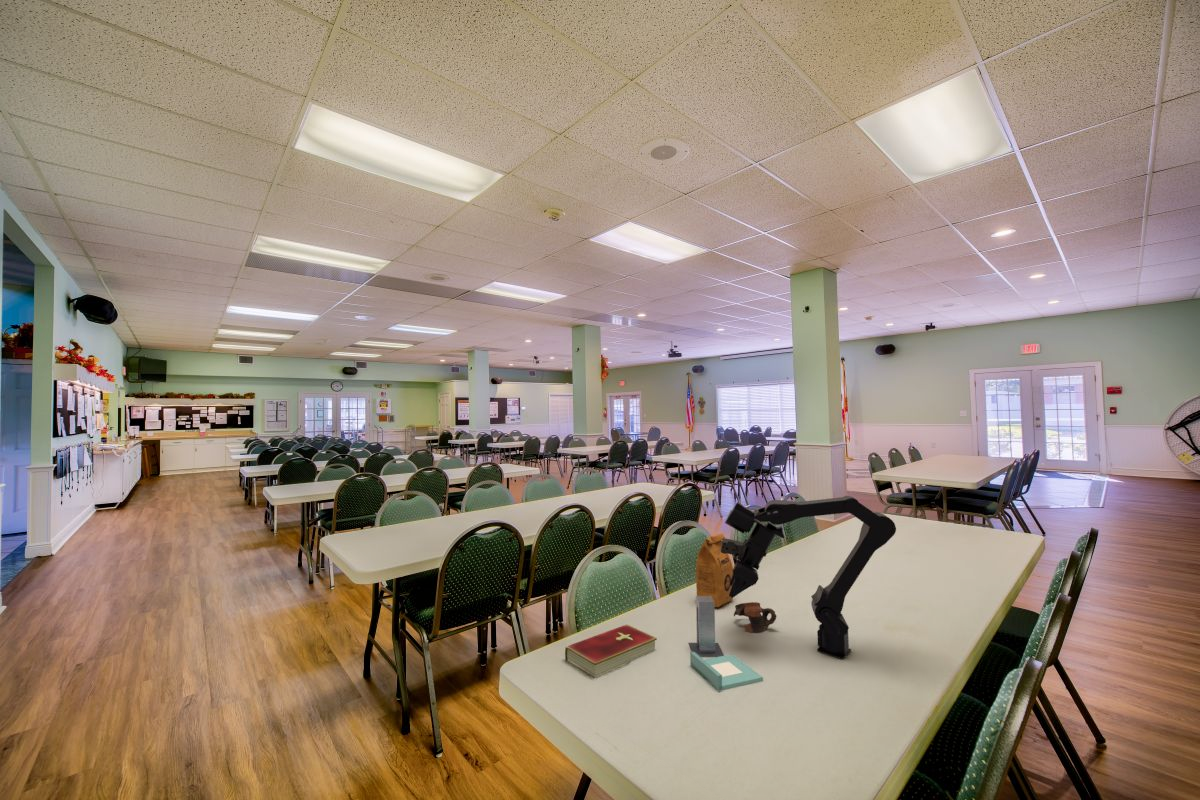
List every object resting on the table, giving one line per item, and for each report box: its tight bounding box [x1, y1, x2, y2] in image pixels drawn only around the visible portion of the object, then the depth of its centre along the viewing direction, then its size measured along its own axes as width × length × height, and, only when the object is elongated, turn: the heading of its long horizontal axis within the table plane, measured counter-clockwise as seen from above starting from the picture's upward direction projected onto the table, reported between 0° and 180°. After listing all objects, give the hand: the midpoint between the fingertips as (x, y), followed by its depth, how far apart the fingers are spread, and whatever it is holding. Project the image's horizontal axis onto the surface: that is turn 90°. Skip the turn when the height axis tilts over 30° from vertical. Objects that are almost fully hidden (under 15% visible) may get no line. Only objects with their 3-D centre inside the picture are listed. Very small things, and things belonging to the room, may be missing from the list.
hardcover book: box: [564, 624, 658, 679], centre depth 126 cm, size 12×21×4 cm, turn 130°
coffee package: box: [695, 533, 734, 608], centre depth 163 cm, size 10×12×22 cm
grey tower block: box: [695, 595, 716, 654], centre depth 128 cm, size 4×4×13 cm
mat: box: [687, 642, 725, 658], centre depth 128 cm, size 8×8×1 cm
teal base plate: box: [689, 652, 764, 693], centre depth 116 cm, size 12×12×4 cm
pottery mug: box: [733, 601, 777, 634], centre depth 143 cm, size 12×10×8 cm
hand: (730, 591), depth 135 cm, fingers open, 9 cm apart
